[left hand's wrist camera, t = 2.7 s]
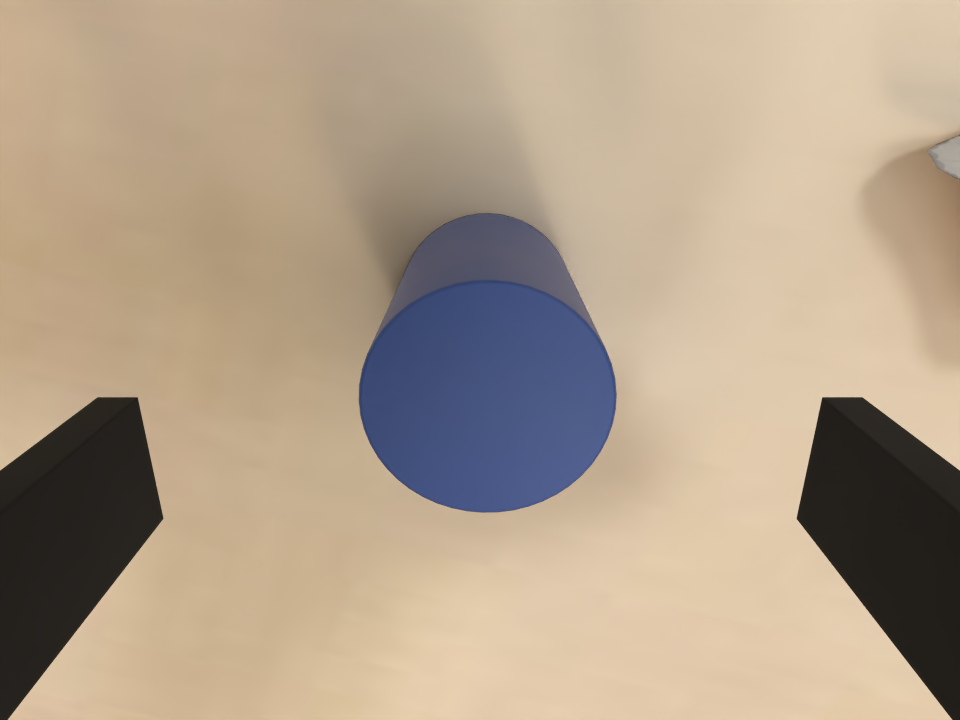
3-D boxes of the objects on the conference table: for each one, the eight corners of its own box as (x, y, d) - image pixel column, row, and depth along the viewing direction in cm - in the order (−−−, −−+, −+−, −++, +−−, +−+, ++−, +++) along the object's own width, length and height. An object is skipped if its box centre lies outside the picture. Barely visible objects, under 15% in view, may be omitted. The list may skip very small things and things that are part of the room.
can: (401, 209, 20) (352, 275, 13) (578, 216, 20) (632, 285, 13) (403, 371, 22) (362, 509, 15) (563, 378, 22) (602, 518, 15)
